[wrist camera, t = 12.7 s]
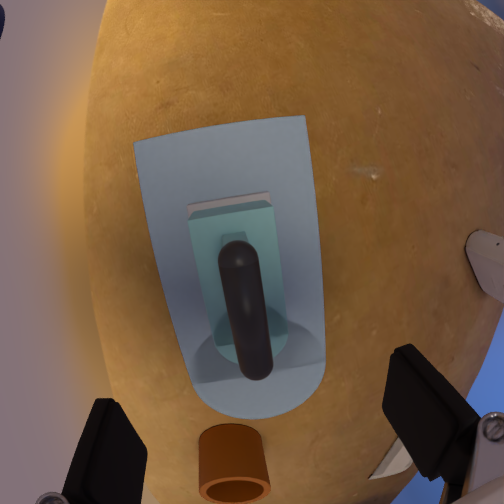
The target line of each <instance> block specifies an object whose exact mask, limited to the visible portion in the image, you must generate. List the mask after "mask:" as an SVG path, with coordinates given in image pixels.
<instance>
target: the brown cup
mask: <svg viewBox="0 0 504 504" xmlns="http://www.w3.org/2000/svg"><path fill="white" fill-rule="evenodd" d="M270 491H271V486H270V481H269V476H268V471H267V466H266V461H265V456H264V451H263V446H262V441H261V436H260V435H259V433H258V432H257V431H255V430H254V429H252V428H251V427H247V426H244V425H237V424H226V425H219V426H216V427H212V428H210V429H208V430H207V431H205V432H204V433H203V434H202V435H201V436H200V440H199V493H200V495H201V497H203V498H204V499H206V500H208V501H210V502H213V503H217V504H247V503H251V502H255V501H257V500H260V499H262V498H264V497H265V496H267V495H268V494H269V492H270Z"/></svg>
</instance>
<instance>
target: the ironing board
mask: <svg viewBox="0 0 504 504" xmlns="http://www.w3.org/2000/svg"><path fill="white" fill-rule="evenodd" d="M133 145H134V152H135V158H136V165H137V171H138V177H139V182H140V188H141V193H142V199H143V204H144V209H145V214H146V219H147V224H148V228H149V233H150V238H151V242H152V246H153V251H154V255H155V259H156V263H157V267H158V271H159V275H160V279H161V283H162V287H163V291H164V295H165V298H166V302H167V305H168V309H169V313H170V316H171V319H172V323H173V326H174V330H175V333H176V336H177V339H178V343H179V346H180V349H181V352H182V355H183V358H184V361H185V364H186V367H187V370H188V373H189V376H190V379H191V382H192V385H193V387H194V389H195V391H196V393H197V394H198V396H199V397H200V398H201V399H202V400H203V402H205V403H206V404H207V405H208V406H209V407H211V408H213V409H214V410H216V411H218V412H220V413H222V414H225V415H228V416H231V417H235V418H241V419H263V418H269V417H274V416H277V415H280V414H283V413H286V412H288V411H290V410H292V409H294V408H296V407H297V406H299V405H300V404H302V403H303V402H304V401H305V400H307V399H308V398H309V397H310V396H311V395H312V394H313V393H314V391H315V390H316V389H317V387H318V386H319V384H320V382H321V380H322V377H323V375H324V371H325V363H326V356H325V320H324V298H323V280H322V265H321V251H320V239H319V227H318V216H317V206H316V197H315V188H314V179H313V171H312V163H311V155H310V148H309V141H308V134H307V127H306V120H305V115H300V116H287V117H276V118H266V119H258V120H249V121H242V122H234V123H227V124H221V125H215V126H208V127H203V128H197V129H192V130H186V131H181V132H176V133H171V134H167V135H162V136H158V137H153V138H149V139H145V140H141V141H137V142H134V143H133ZM263 191H268V192H270V198H271V205H272V206H273V207H274V213H275V221H276V229H277V237H278V244H279V253H280V261H281V269H282V278H283V286H284V295H285V304H286V313H287V322H288V332H289V335H288V338H287V342H286V344H285V346H284V347H283V349H282V350H281V351H280V353H279V354H278V355H276V356H275V357H274V358H273V362H274V366H273V370H272V372H271V373H270V375H269V376H268V377H266V378H265V379H263V380H259V381H254V380H250V379H248V378H246V377H245V376H244V375H243V374H242V373H241V371H240V368H239V364H237V363H234V362H231V361H229V360H228V359H226V358H225V357H223V356H222V355H221V354H220V353H219V351H218V350H217V348H216V347H215V344H214V340H213V336H212V332H211V328H210V324H209V320H208V315H207V311H206V307H205V303H204V298H203V294H202V290H201V285H200V281H199V276H198V271H197V267H196V262H195V257H194V252H193V248H192V243H191V238H190V233H189V227H188V222H187V220H188V219H189V218H188V212H187V207H186V206H187V205H188V204H190V203H196V202H201V201H207V200H213V199H219V198H225V197H231V196H237V195H243V194H249V193H256V192H263Z"/></svg>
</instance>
